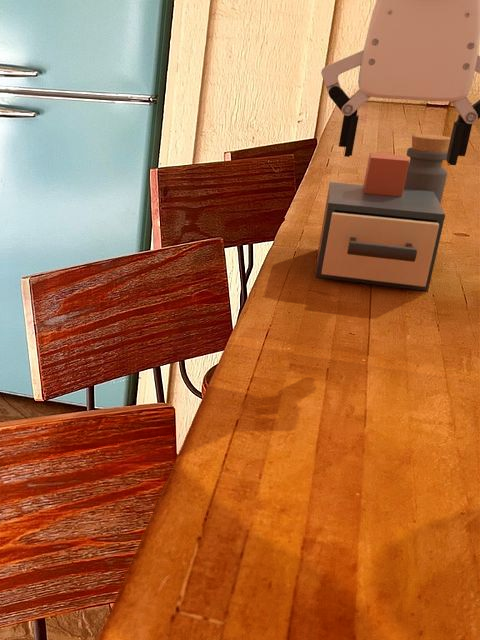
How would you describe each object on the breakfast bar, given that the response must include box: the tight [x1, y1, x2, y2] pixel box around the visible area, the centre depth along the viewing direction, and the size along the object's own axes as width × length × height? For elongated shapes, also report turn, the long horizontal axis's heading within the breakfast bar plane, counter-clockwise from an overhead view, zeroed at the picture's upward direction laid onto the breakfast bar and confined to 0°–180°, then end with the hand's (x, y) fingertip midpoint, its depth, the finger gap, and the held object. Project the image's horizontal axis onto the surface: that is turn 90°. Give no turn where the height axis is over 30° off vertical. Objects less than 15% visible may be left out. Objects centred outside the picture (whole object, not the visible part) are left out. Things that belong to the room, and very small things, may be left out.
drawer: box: [322, 210, 439, 287], centre depth 106 cm, size 18×11×7 cm, turn 160°
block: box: [363, 152, 410, 197], centre depth 111 cm, size 4×4×4 cm
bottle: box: [404, 133, 451, 206], centre depth 121 cm, size 6×6×15 cm
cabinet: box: [315, 181, 446, 292], centre depth 110 cm, size 15×13×9 cm
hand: (398, 159), depth 89 cm, fingers open, 9 cm apart
